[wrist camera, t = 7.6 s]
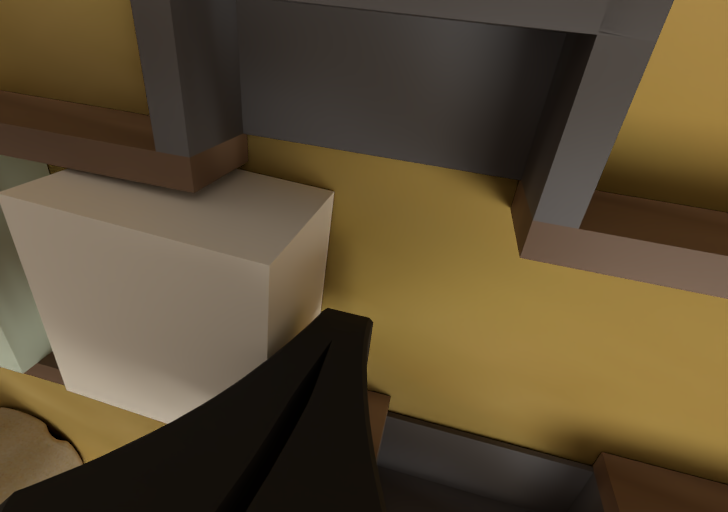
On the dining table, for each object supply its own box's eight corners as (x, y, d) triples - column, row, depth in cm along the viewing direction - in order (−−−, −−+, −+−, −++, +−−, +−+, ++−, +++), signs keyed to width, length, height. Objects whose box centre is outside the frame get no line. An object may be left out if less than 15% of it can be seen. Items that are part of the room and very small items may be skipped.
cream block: (316, 352, 14) (264, 456, 11) (161, 307, 15) (66, 390, 11) (334, 191, 11) (269, 265, 7) (136, 145, 12) (-4, 192, 8)
